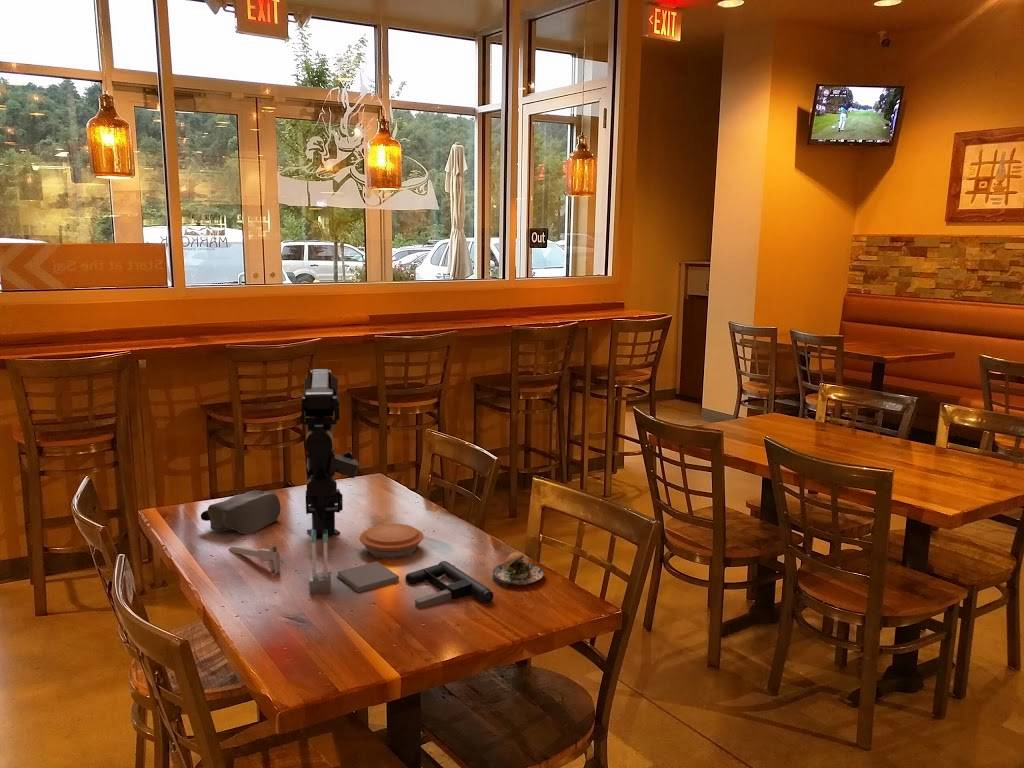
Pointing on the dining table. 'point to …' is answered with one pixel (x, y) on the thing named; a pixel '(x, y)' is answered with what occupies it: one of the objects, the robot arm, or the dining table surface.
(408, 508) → the dining table surface
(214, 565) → the dining table surface
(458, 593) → the toy submachine gun
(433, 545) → the dining table surface
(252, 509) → the grey jug on side
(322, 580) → the block with twin posts
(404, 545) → the pie
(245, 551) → the caliper
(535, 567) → the burger
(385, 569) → the plate
